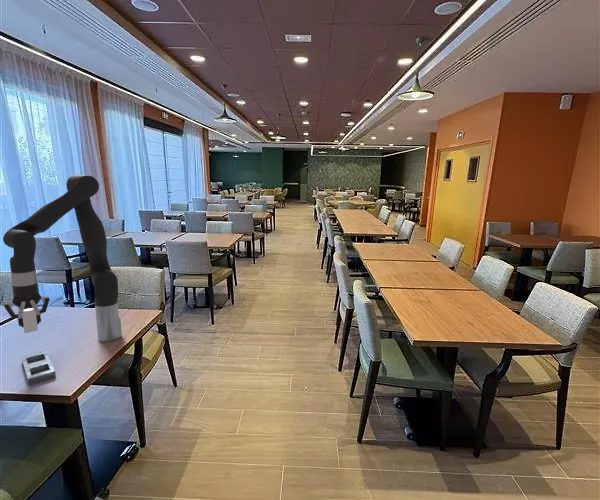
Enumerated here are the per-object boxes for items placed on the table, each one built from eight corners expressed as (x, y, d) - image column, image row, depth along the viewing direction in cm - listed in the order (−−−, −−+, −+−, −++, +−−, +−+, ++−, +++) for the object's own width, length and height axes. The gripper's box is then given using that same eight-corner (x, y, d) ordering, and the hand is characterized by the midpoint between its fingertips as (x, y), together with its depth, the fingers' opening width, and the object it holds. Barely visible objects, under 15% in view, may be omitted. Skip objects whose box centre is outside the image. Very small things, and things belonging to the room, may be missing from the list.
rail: (47, 356, 138) (46, 350, 137) (55, 377, 124) (55, 371, 124) (22, 362, 132) (21, 357, 132) (28, 385, 119) (27, 379, 118)
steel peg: (36, 326, 130) (34, 307, 129) (38, 330, 128) (35, 310, 126) (23, 329, 128) (21, 310, 126) (24, 333, 125) (22, 313, 123)
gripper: (-1, 288, 116) (6, 333, 120) (49, 281, 126) (54, 323, 129) (-1, 283, 122) (5, 326, 125) (47, 277, 131) (51, 317, 135)
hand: (30, 324), depth 127 cm, fingers closed on steel peg, 4 cm apart
